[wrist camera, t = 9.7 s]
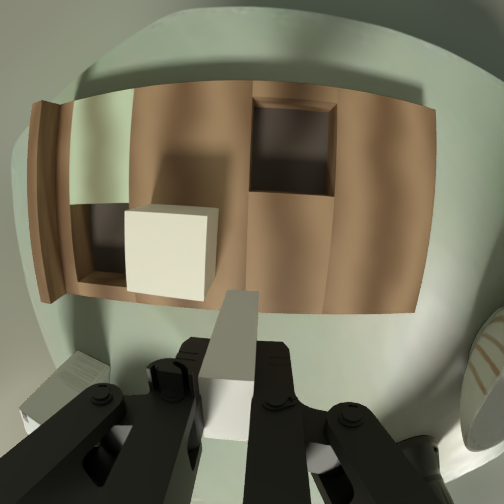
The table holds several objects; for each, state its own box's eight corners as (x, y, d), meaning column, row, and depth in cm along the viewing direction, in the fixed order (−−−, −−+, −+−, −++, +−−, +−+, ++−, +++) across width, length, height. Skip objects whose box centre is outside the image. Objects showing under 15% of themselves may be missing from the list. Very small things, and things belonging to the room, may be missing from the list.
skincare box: (110, 401, 35) (69, 470, 20) (78, 385, 35) (32, 447, 20) (110, 362, 33) (57, 437, 18) (74, 345, 33) (15, 409, 18)
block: (219, 208, 23) (207, 216, 18) (215, 277, 25) (203, 301, 20) (150, 203, 23) (124, 210, 18) (150, 270, 25) (127, 291, 20)
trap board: (416, 116, 24) (452, 104, 17) (399, 297, 29) (427, 326, 22) (71, 112, 25) (32, 103, 18) (75, 279, 30) (41, 301, 23)
